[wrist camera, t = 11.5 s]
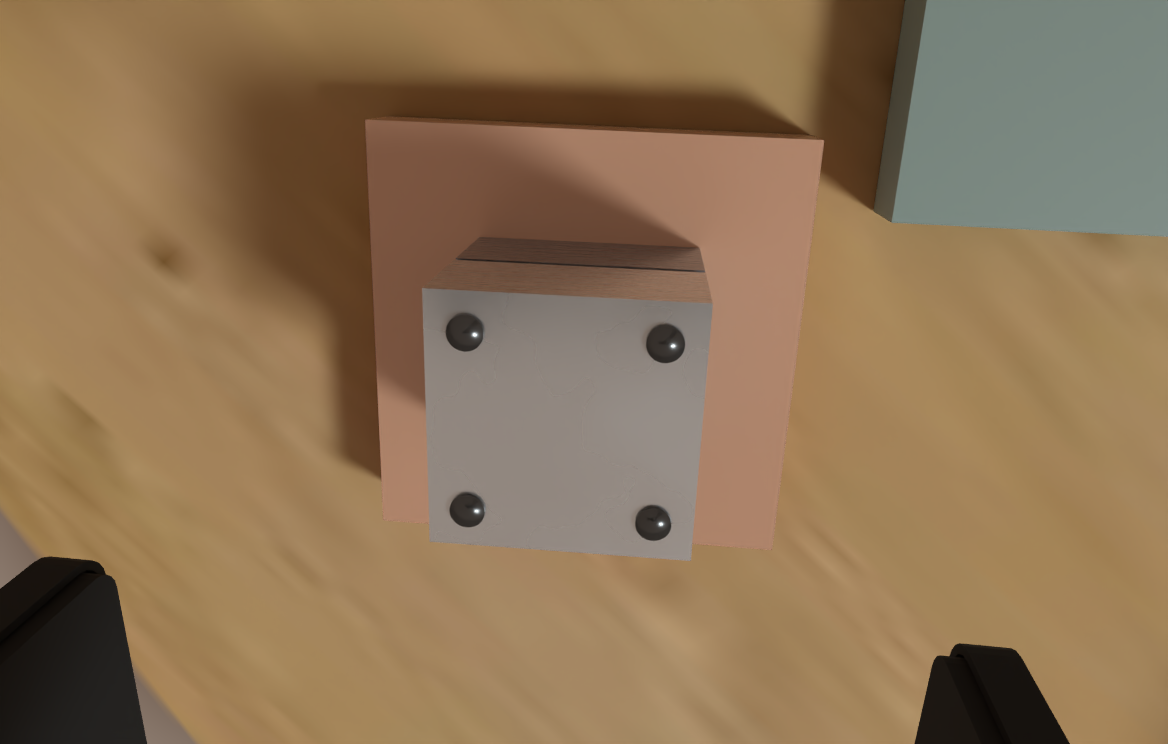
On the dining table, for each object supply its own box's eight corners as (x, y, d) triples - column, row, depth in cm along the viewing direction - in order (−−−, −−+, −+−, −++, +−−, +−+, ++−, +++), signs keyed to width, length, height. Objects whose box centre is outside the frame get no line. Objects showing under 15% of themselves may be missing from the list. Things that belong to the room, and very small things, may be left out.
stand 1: (387, 116, 24) (364, 119, 22) (811, 135, 24) (824, 140, 22) (401, 490, 28) (383, 520, 26) (764, 517, 28) (772, 550, 26)
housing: (479, 236, 23) (420, 289, 17) (699, 247, 23) (712, 304, 17) (481, 437, 25) (428, 543, 19) (683, 450, 25) (691, 562, 19)
